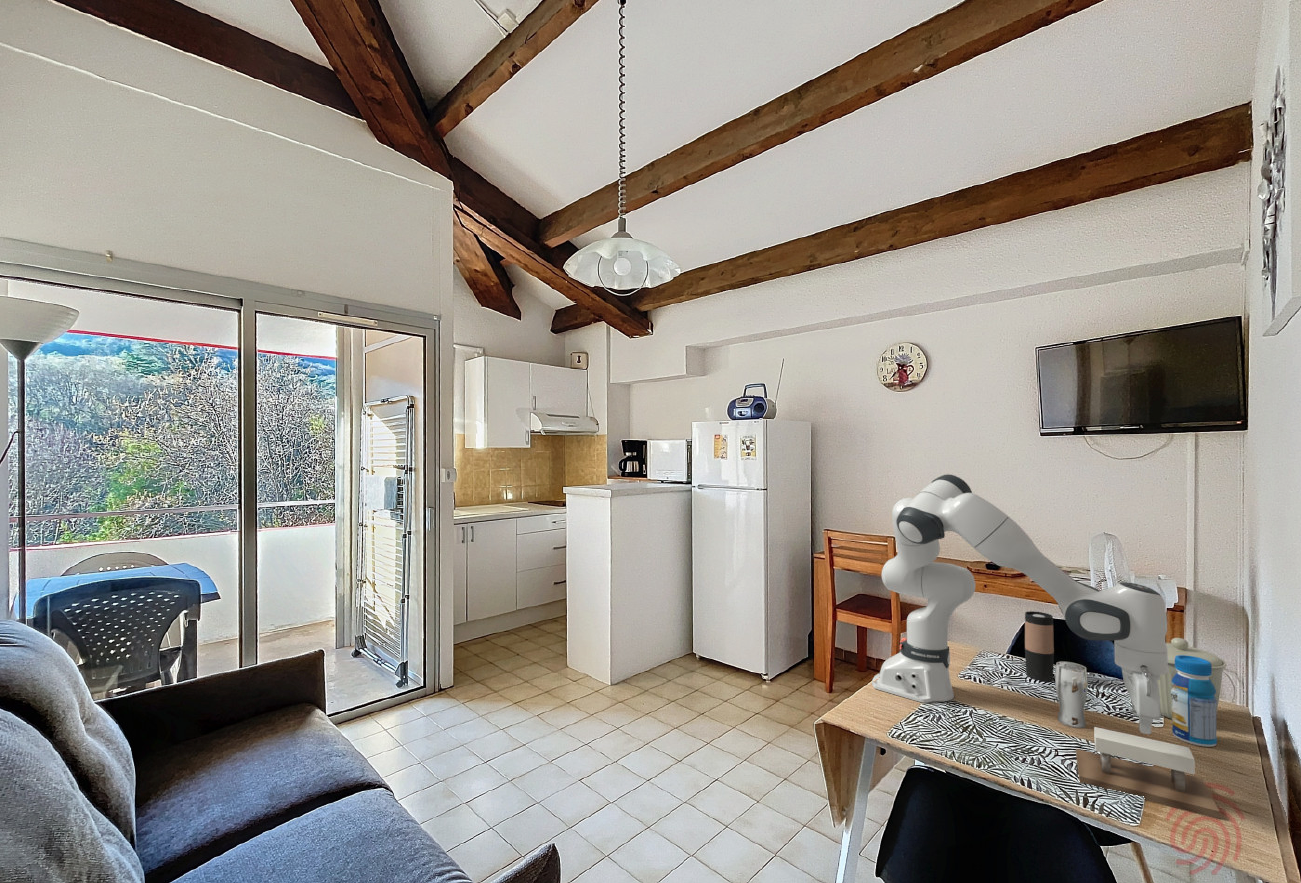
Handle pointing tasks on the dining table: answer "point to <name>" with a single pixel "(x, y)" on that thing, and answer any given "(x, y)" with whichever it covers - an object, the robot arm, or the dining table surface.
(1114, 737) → the shelf board
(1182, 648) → the canister
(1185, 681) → the beverage bottle
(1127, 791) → the peg stand
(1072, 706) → the beer glass
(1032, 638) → the travel mug
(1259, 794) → the dining table surface
